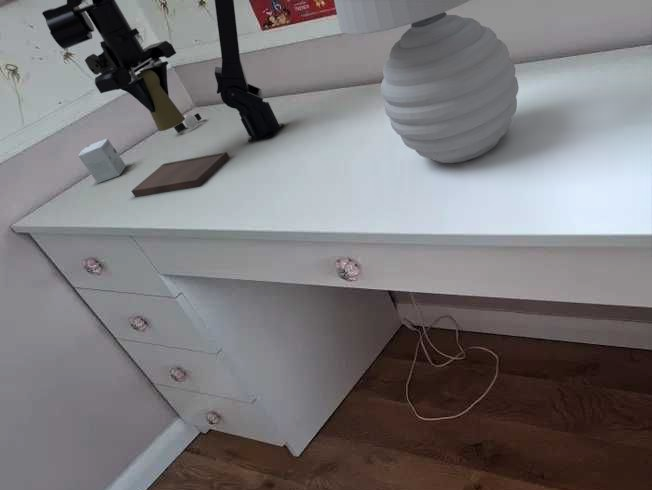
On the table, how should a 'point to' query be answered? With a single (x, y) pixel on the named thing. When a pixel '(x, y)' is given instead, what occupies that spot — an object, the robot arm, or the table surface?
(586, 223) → the table surface
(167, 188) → the walnut board
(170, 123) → the olive yellow pawn
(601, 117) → the table surface
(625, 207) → the table surface
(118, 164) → the white cardboard box
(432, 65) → the table lamp
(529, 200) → the table surface
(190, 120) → the watch
